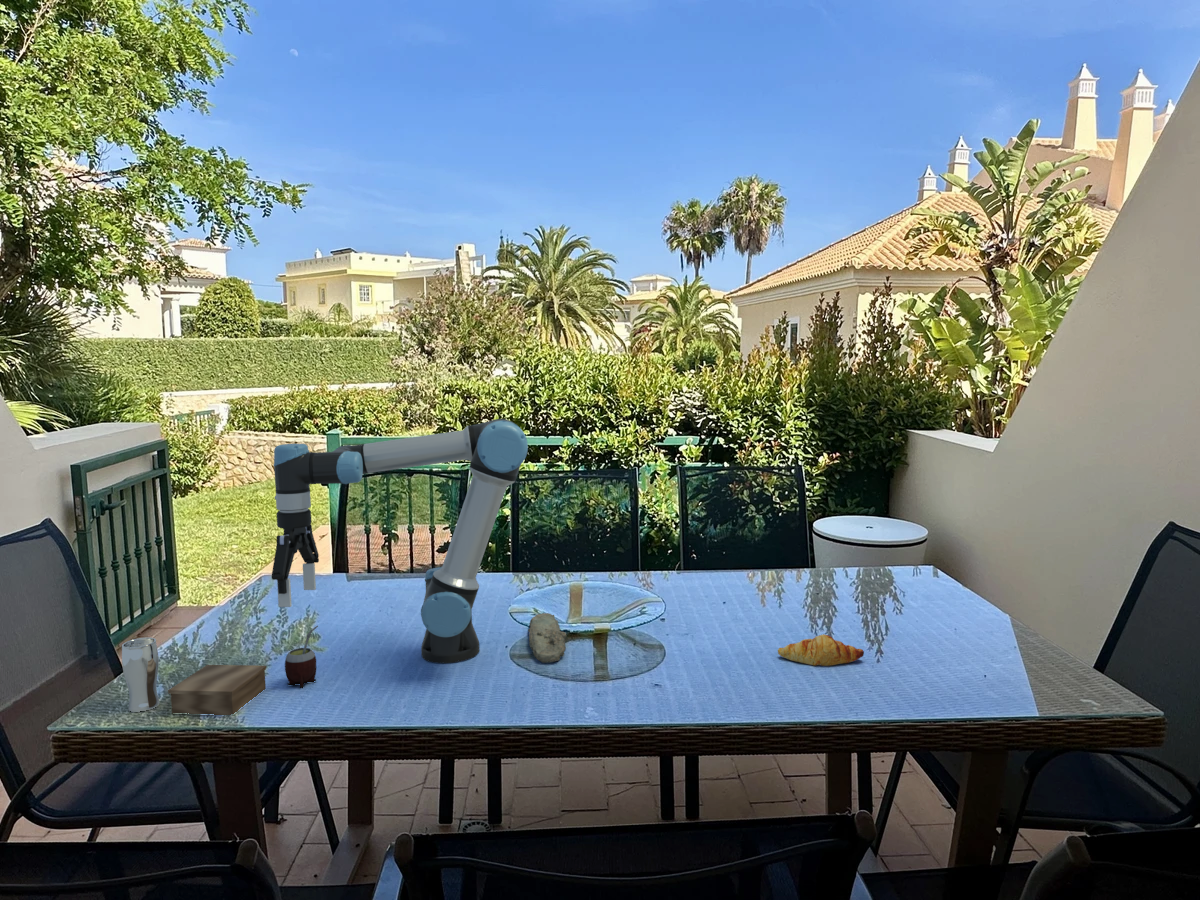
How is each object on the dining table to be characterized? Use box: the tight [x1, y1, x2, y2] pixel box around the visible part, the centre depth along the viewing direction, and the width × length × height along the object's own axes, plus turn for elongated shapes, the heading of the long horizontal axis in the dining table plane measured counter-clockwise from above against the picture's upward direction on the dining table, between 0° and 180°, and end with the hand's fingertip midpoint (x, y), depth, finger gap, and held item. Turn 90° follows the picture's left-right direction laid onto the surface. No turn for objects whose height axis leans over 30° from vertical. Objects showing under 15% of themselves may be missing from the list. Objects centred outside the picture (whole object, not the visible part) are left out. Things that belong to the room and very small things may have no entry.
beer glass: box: [121, 637, 161, 713], centre depth 171 cm, size 7×7×15 cm
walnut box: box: [167, 664, 267, 716], centre depth 174 cm, size 15×15×6 cm
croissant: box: [777, 634, 865, 667], centre depth 194 cm, size 21×10×8 cm, turn 82°
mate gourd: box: [284, 625, 319, 689], centre depth 183 cm, size 8×8×15 cm
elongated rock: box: [527, 612, 567, 664], centre depth 210 cm, size 35×5×10 cm
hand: (297, 597), depth 181 cm, fingers open, 13 cm apart
